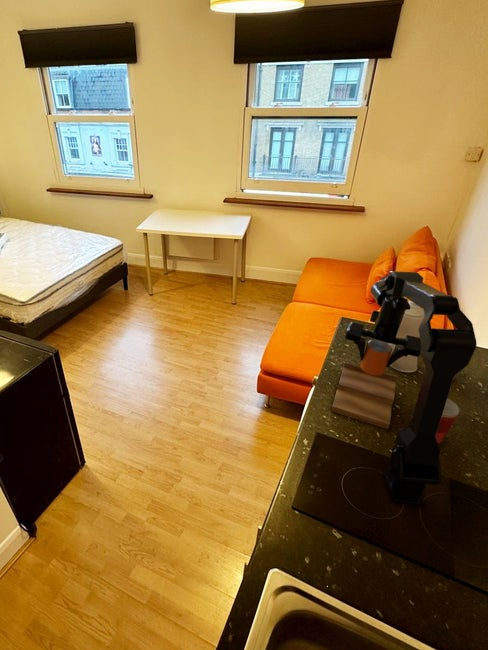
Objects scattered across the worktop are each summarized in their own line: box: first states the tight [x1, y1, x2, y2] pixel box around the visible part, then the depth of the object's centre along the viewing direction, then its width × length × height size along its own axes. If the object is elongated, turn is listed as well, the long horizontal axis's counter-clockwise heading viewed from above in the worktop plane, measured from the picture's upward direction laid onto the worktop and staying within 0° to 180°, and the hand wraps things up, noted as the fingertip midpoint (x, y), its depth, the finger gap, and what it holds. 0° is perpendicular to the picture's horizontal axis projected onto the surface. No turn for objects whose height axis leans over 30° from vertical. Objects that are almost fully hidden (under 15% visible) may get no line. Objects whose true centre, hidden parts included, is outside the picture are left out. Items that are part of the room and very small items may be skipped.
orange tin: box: [360, 339, 392, 375], centre depth 106 cm, size 6×6×8 cm
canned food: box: [436, 398, 460, 445], centre depth 98 cm, size 8×8×11 cm
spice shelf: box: [330, 361, 398, 430], centre depth 110 cm, size 18×15×6 cm
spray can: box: [388, 300, 425, 373], centre depth 119 cm, size 12×11×25 cm
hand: (374, 362), depth 108 cm, fingers closed on orange tin, 6 cm apart
